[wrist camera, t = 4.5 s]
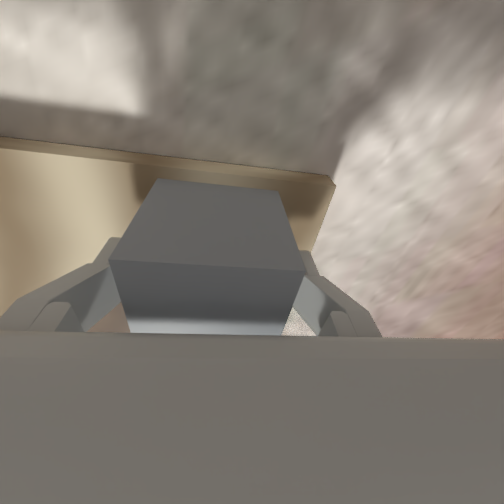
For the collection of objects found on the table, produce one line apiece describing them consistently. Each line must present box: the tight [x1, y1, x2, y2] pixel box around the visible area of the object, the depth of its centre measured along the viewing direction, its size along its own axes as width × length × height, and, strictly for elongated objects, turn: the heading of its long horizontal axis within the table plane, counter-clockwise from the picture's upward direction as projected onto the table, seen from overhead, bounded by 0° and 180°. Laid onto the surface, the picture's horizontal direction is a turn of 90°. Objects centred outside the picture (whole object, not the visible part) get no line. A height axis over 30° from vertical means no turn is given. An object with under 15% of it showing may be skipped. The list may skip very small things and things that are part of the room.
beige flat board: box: [0, 137, 336, 333], centre depth 17 cm, size 18×23×1 cm
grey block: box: [108, 178, 306, 335], centre depth 10 cm, size 5×5×5 cm
